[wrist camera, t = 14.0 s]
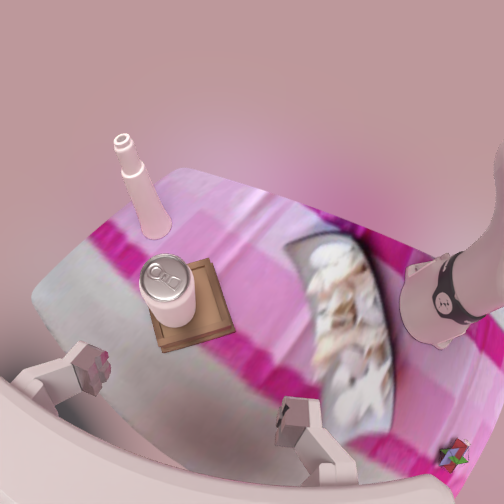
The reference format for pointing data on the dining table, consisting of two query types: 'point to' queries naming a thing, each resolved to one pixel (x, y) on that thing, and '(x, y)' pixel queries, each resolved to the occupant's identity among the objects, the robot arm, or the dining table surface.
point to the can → (168, 289)
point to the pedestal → (198, 313)
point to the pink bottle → (141, 190)
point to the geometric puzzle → (454, 455)
